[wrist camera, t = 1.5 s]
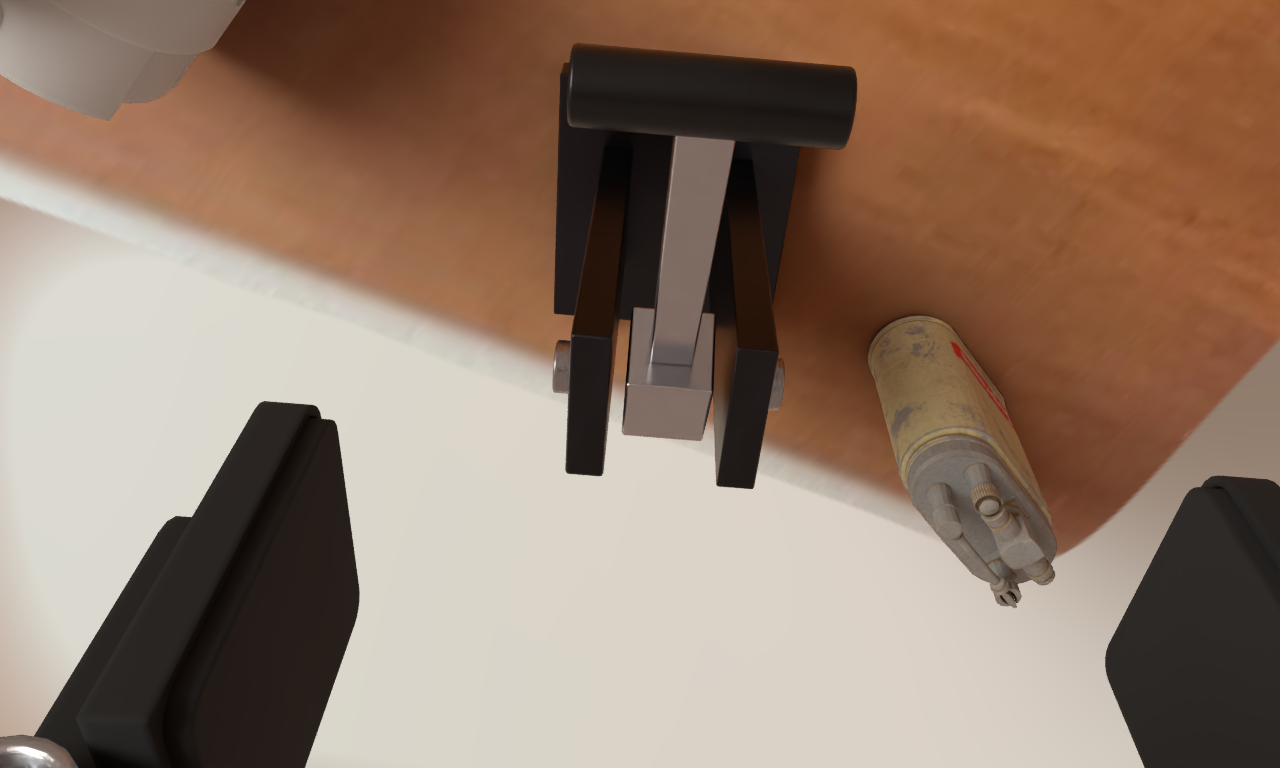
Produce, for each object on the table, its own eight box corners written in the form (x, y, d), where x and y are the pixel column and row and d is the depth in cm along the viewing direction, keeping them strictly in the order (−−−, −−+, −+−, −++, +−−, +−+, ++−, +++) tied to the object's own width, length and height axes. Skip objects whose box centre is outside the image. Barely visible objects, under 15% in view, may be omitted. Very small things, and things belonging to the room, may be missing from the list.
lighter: (1018, 417, 41) (1101, 605, 32) (935, 461, 42) (994, 651, 34) (929, 296, 38) (996, 470, 29) (843, 348, 39) (883, 527, 31)
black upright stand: (563, 62, 33) (507, 242, 23) (806, 82, 33) (861, 272, 23) (556, 298, 38) (508, 533, 28) (766, 315, 38) (796, 556, 28)
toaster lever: (576, 6, 18) (563, 104, 17) (855, 30, 18) (861, 130, 17) (578, 356, 28) (570, 431, 27) (754, 370, 28) (753, 446, 27)
